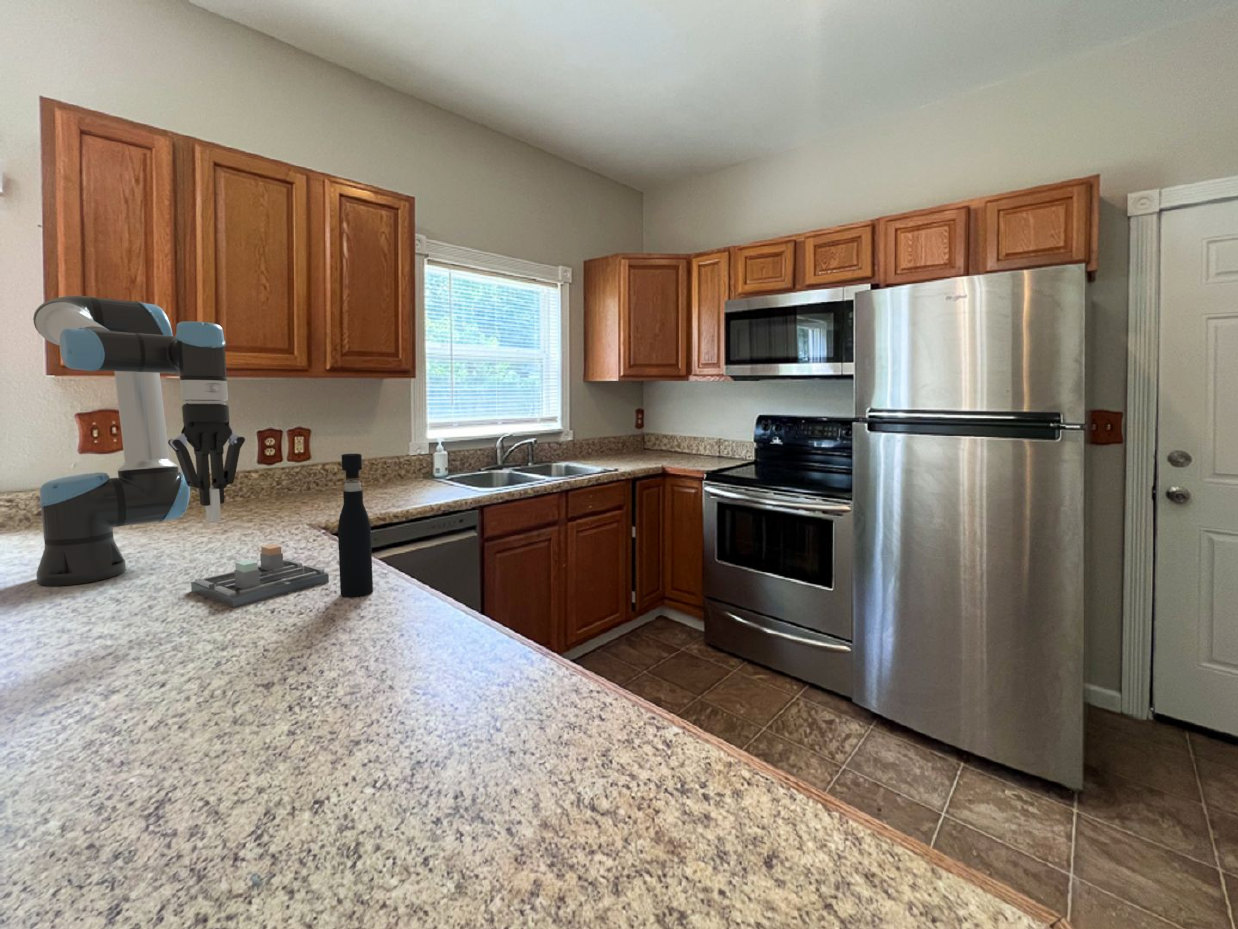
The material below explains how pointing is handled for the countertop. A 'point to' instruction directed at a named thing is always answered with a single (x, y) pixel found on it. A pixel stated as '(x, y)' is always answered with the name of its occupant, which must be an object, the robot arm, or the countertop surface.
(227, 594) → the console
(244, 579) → the knob
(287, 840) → the countertop surface
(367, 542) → the black water bottle
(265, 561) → the knob
